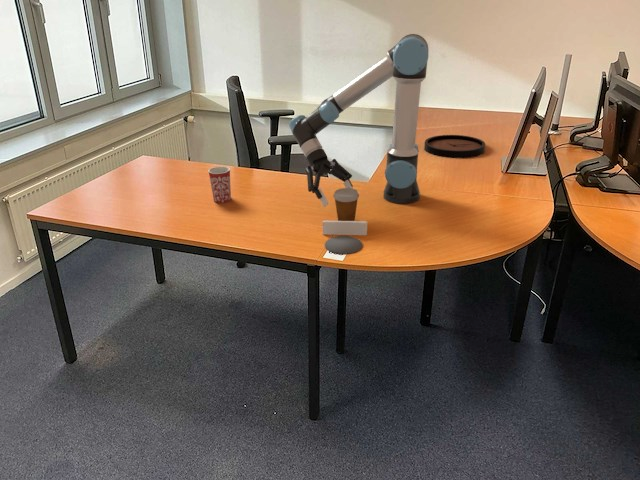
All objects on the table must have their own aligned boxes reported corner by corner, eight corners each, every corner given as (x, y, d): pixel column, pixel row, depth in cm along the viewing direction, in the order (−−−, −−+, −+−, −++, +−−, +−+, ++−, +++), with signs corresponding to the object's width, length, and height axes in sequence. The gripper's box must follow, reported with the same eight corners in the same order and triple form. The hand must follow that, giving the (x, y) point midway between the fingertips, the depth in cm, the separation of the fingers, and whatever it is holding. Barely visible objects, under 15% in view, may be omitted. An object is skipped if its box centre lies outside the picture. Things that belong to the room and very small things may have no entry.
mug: (233, 202, 222) (230, 172, 216) (212, 205, 220) (208, 174, 214) (232, 192, 233) (229, 162, 227) (211, 194, 231) (207, 164, 225)
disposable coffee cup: (356, 227, 197) (357, 197, 191) (331, 226, 199) (331, 196, 193) (360, 217, 205) (360, 188, 200) (336, 216, 207) (335, 187, 202)
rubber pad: (362, 237, 189) (362, 236, 189) (361, 254, 178) (361, 253, 177) (326, 236, 190) (326, 235, 190) (323, 253, 179) (323, 252, 179)
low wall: (366, 233, 192) (367, 221, 190) (366, 235, 191) (367, 222, 188) (323, 233, 193) (322, 220, 191) (322, 234, 192) (322, 221, 190)
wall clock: (418, 147, 274) (432, 132, 300) (417, 155, 276) (431, 139, 301) (480, 153, 262) (489, 137, 288) (479, 161, 264) (488, 144, 290)
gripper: (334, 151, 213) (359, 196, 209) (284, 165, 199) (310, 213, 195) (343, 141, 207) (369, 187, 203) (292, 154, 193) (318, 204, 189)
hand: (340, 200), depth 199 cm, fingers open, 13 cm apart
